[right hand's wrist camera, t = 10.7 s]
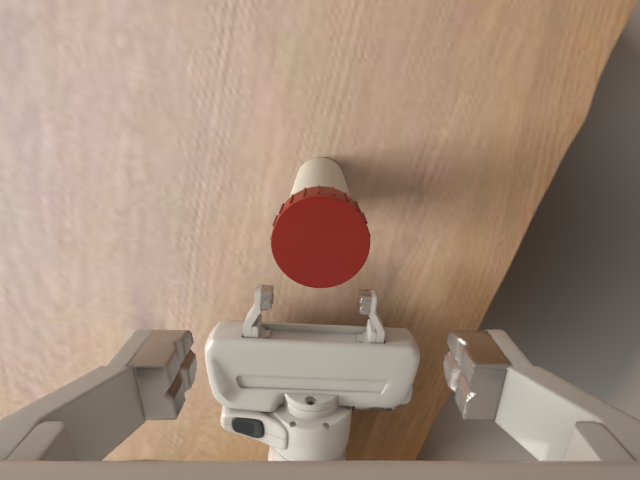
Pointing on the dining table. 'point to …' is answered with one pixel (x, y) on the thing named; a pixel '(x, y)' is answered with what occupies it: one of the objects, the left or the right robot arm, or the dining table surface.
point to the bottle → (320, 175)
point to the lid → (320, 237)
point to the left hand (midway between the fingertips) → (316, 290)
